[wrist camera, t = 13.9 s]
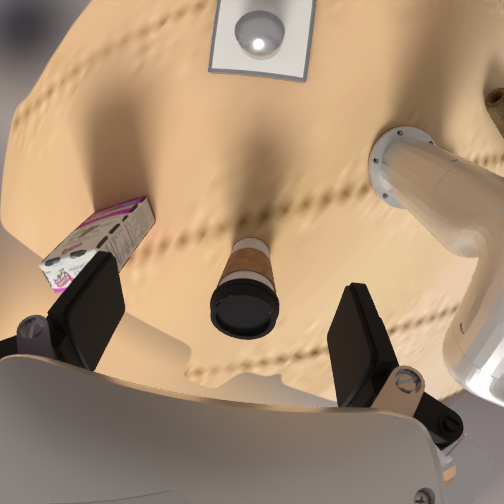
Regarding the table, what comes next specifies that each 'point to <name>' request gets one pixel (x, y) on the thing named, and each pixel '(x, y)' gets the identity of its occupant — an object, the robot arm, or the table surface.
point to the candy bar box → (99, 241)
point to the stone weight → (496, 108)
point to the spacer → (260, 34)
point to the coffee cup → (246, 293)
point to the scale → (292, 50)
